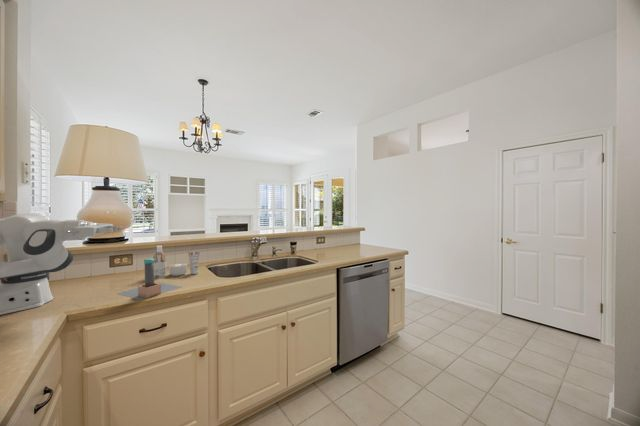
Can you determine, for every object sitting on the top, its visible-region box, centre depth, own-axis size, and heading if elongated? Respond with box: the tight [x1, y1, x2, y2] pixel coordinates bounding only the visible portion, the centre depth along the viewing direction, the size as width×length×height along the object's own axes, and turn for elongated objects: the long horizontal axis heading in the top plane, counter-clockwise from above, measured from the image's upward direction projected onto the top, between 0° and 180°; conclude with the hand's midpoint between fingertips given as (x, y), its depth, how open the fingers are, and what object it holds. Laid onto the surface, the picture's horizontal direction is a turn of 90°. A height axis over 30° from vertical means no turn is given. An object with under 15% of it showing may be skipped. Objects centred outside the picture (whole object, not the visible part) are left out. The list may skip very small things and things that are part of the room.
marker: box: [143, 258, 155, 287], centre depth 117 cm, size 4×4×16 cm
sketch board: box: [117, 281, 182, 301], centre depth 123 cm, size 20×19×1 cm
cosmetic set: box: [152, 245, 201, 278], centre depth 152 cm, size 25×9×19 cm, turn 115°
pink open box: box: [137, 282, 162, 299], centre depth 117 cm, size 7×7×4 cm
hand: (117, 229), depth 112 cm, fingers open, 8 cm apart
